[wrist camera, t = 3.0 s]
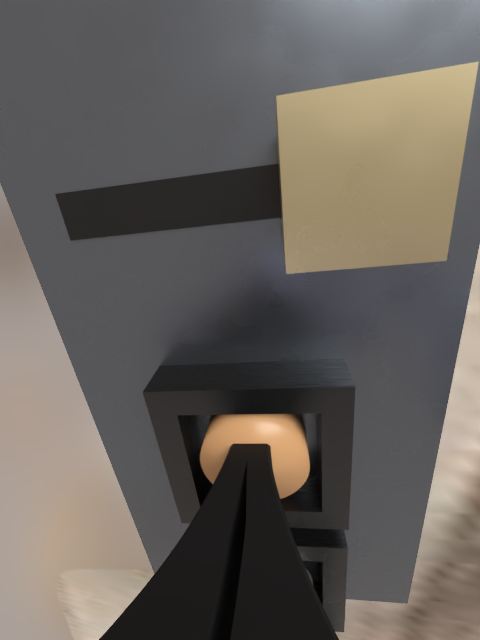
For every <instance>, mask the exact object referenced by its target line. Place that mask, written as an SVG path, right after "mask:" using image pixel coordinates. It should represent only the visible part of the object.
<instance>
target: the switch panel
mask: <svg viewBox="0 0 480 640" xmlns="http://www.w3.org/2000/svg"><path fill="white" fill-rule="evenodd" d="M473 62H479V63H478V69H477V75H476V82H475V88H474V94H473V100H472V106H471V113H470V119H469V125H468V131H467V137H466V144H465V150H464V156H463V162H462V168H461V175H460V181H459V187H458V193H457V199H456V206H455V212H454V218H453V224H452V230H451V237H450V243H449V249H448V255H447V261H439V262H427V263H415V264H402V265H390V266H378V267H366V268H354V269H341V270H329V271H317V272H305V273H293V274H286V270H285V261H284V252H283V240H282V222H281V205H280V187H279V170H278V152H277V134H276V96H278V95H284V94H290V93H296V92H301V91H307V90H313V89H319V88H325V87H331V86H337V85H343V84H349V83H355V82H361V81H367V80H372V79H378V78H384V77H390V76H396V75H402V74H408V73H414V72H420V71H426V70H432V69H437V68H443V67H449V66H455V65H461V64H467V63H473ZM0 183H1V186H2V188H3V190H4V193H5V196H6V198H7V201H8V203H9V206H10V208H11V211H12V214H13V216H14V219H15V221H16V224H17V226H18V229H19V231H20V234H21V236H22V239H23V241H24V244H25V246H26V249H27V252H28V254H29V257H30V259H31V262H32V264H33V267H34V269H35V272H36V274H37V277H38V279H39V282H40V284H41V287H42V289H43V292H44V295H45V297H46V300H47V302H48V304H49V307H50V310H51V312H52V315H53V317H54V320H55V322H56V325H57V327H58V330H59V332H60V335H61V337H62V340H63V343H64V345H65V348H66V350H67V353H68V355H69V358H70V360H71V363H72V365H73V368H74V371H75V373H76V376H77V378H78V380H79V383H80V386H81V388H82V391H83V393H84V396H85V398H86V401H87V403H88V406H89V408H90V411H91V413H92V416H93V419H94V421H95V424H96V426H97V429H98V431H99V434H100V436H101V439H102V441H103V444H104V446H105V449H106V452H107V454H108V457H109V459H110V461H111V464H112V467H113V469H114V472H115V474H116V477H117V479H118V482H119V484H120V487H121V490H122V492H123V495H124V497H125V499H126V502H127V505H128V507H129V510H130V512H131V515H132V517H133V520H134V522H135V525H136V528H137V530H138V533H139V535H140V538H141V540H142V543H143V545H144V548H145V550H146V553H147V555H148V558H149V560H150V563H151V565H152V568H153V571H154V573H156V572H157V570H158V569H159V568H160V566H161V565H162V564H163V562H164V561H165V560H166V558H167V557H168V556H169V554H170V553H171V551H172V550H173V549H174V547H175V546H176V544H177V543H178V541H179V540H180V538H181V537H182V536H183V534H184V532H185V531H186V529H187V528H188V526H189V525H190V523H191V522H192V520H193V518H194V517H195V515H196V513H197V512H198V510H199V508H200V507H201V505H202V503H203V502H204V500H205V498H206V496H207V494H208V493H209V491H210V489H211V487H212V485H213V484H212V483H211V482H210V481H209V479H208V478H207V477H206V475H205V474H204V472H203V470H202V467H201V463H200V452H201V448H202V445H203V441H204V437H205V434H206V430H207V427H208V423H209V420H210V417H211V415H235V414H299V416H300V417H301V418H302V420H303V422H304V425H305V428H306V436H307V445H308V453H309V461H310V471H309V475H308V478H307V480H306V481H305V483H304V484H303V486H302V487H301V488H300V489H298V490H297V491H296V492H295V493H293V494H291V495H289V496H287V497H285V498H282V499H280V500H281V503H282V506H283V510H284V513H285V516H286V519H287V521H288V524H289V527H290V530H291V533H292V535H293V538H294V541H295V543H296V546H297V549H298V551H299V554H300V556H301V558H302V561H303V563H304V566H305V568H306V569H307V570H308V571H309V573H310V574H311V576H312V579H313V587H314V589H315V591H316V593H317V595H318V597H319V599H320V602H321V604H322V606H323V608H324V610H325V612H326V614H327V616H328V618H329V621H330V623H331V625H332V627H333V629H334V631H337V632H344V620H345V599H355V600H368V601H382V602H396V603H408V598H409V593H410V588H411V583H412V578H413V573H414V568H415V563H416V558H417V553H418V548H419V543H420V538H421V533H422V528H423V523H424V518H425V513H426V508H427V503H428V498H429V493H430V488H431V483H432V478H433V473H434V468H435V463H436V458H437V453H438V448H439V443H440V438H441V433H442V428H443V423H444V418H445V413H446V408H447V403H448V398H449V393H450V388H451V383H452V378H453V373H454V368H455V363H456V358H457V353H458V348H459V344H460V339H461V334H462V329H463V324H464V319H465V314H466V309H467V304H468V299H469V294H470V289H471V284H472V279H473V274H474V269H475V264H476V259H477V254H478V249H479V244H480V0H0Z"/></svg>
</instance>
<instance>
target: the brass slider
mask: <svg viewBox="0 0 480 640" xmlns="http://www.w3.org/2000/svg"><path fill="white" fill-rule="evenodd" d="M478 63H479V62H473V63H467V64H461V65H455V66H449V67H443V68H437V69H432V70H426V71H420V72H414V73H408V74H402V75H396V76H390V77H384V78H378V79H372V80H367V81H361V82H355V83H349V84H343V85H337V86H331V87H325V88H319V89H313V90H307V91H301V92H296V93H290V94H284V95H278V96H276V134H277V152H278V170H279V187H280V205H281V222H282V240H283V252H284V261H285V270H286V274H293V273H305V272H317V271H329V270H341V269H354V268H366V267H378V266H390V265H402V264H415V263H427V262H439V261H447V255H448V249H449V243H450V237H451V230H452V224H453V218H454V212H455V206H456V199H457V193H458V187H459V181H460V175H461V168H462V162H463V156H464V150H465V144H466V137H467V131H468V125H469V119H470V113H471V106H472V100H473V94H474V88H475V82H476V75H477V69H478Z"/></svg>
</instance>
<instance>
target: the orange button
mask: <svg viewBox="0 0 480 640" xmlns="http://www.w3.org/2000/svg"><path fill="white" fill-rule="evenodd" d="M232 444H268V445H270V447H271V457H272V467H273V473H274V478H275V482H276V486H277V489H278V493H279V496H280V499H282V498H285V497H287V496H289V495H291V494H293V493H295V492H296V491H297V490H298V489H300V488H301V487H302V486H303V484H304V483H305V481H306V480H307V478H308V475H309V471H310V461H309V453H308V445H307V436H306V428H305V425H304V422H303V420H302V418H301V417H300V416H299V414H235V415H211V417H210V420H209V423H208V427H207V430H206V434H205V437H204V441H203V445H202V448H201V452H200V463H201V467H202V470H203V472H204V474H205V475H206V477H207V478H208V479H209V481H210V482H211V483H212V484H213V483H214V481H215V479H216V478H217V476H218V474H219V471H220V469H221V467H222V465H223V463H224V461H225V459H226V456H227V454H228V452H229V449H230V447H231V445H232Z"/></svg>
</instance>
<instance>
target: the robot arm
mask: <svg viewBox="0 0 480 640" xmlns="http://www.w3.org/2000/svg"><path fill="white" fill-rule="evenodd" d="M99 640H339V639H338V637H337V635H336V633H335V631H334V629H333V627H332V625H331V623H330V621H329V618H328V616H327V614H326V612H325V610H324V608H323V606H322V604H321V602H320V599H319V597H318V595H317V593H316V591H315V589H314V587H313V584H312V582H311V580H310V577H309V575H308V573H307V570H306V568H305V566H304V563H303V561H302V558H301V556H300V554H299V551H298V549H297V546H296V543H295V541H294V538H293V535H292V533H291V530H290V527H289V524H288V521H287V519H286V516H285V513H284V510H283V506H282V503H281V500H280V496H279V493H278V489H277V486H276V482H275V478H274V473H273V467H272V457H271V447H270V445H268V444H232V445H231V447H230V449H229V452H228V454H227V456H226V459H225V461H224V463H223V465H222V467H221V469H220V471H219V474H218V476H217V478H216V479H215V481H214V483H213V485H212V487H211V489H210V491H209V493H208V494H207V496H206V498H205V500H204V502H203V503H202V505H201V507H200V508H199V510H198V512H197V513H196V515H195V517H194V518H193V520H192V522H191V523H190V525H189V526H188V528H187V529H186V531H185V532H184V534H183V536H182V537H181V538H180V540H179V541H178V543H177V544H176V546H175V547H174V549H173V550H172V551H171V553H170V554H169V556H168V557H167V558H166V560H165V561H164V562H163V564H162V565H161V566H160V568H159V569H158V570H157V572H156V573H155V574H154V576H153V577H152V578H151V580H150V581H149V582H148V583H147V585H146V586H145V587H144V588H143V590H142V591H141V592H140V593H139V594H138V596H137V597H136V598H135V599H134V600H133V601H132V603H131V604H130V605H129V606H128V607H127V608H126V610H125V611H124V612H123V613H122V614H121V615H120V617H119V618H118V619H117V620H116V621H115V623H114V624H113V625H112V626H111V627H110V628H109V629H108V630H107V632H106V633H105V634H104V635H103V636H102V637H101V638H100V639H99Z"/></svg>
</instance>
